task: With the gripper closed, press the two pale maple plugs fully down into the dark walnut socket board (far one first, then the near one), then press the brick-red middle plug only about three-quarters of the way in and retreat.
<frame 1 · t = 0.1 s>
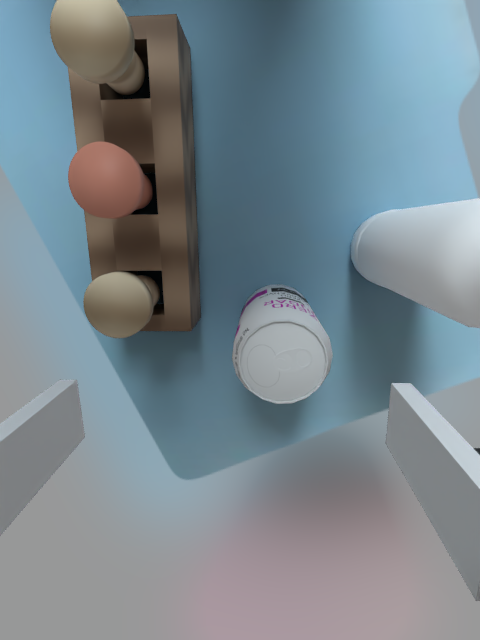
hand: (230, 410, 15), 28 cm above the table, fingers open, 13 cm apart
brick-red plug: (120, 186, 31), point 9 cm above the table, slide at 0.0 cm
socket board: (151, 195, 40), on the table
bottle: (384, 247, 40), on the table
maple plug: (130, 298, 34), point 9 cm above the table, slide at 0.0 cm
supplement can: (276, 317, 43), on the table
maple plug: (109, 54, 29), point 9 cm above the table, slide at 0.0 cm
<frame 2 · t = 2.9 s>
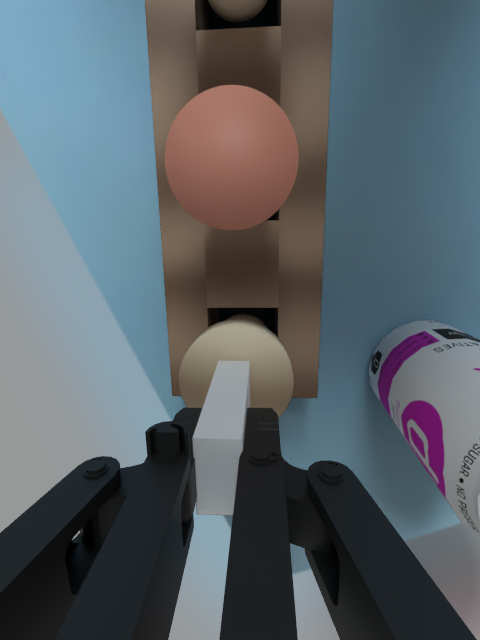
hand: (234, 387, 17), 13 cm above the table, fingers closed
brick-red plug: (236, 173, 18), point 9 cm above the table, slide at 0.0 cm
socket board: (245, 190, 27), on the table
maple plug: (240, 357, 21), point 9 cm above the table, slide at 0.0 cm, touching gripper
supplement can: (415, 364, 30), on the table
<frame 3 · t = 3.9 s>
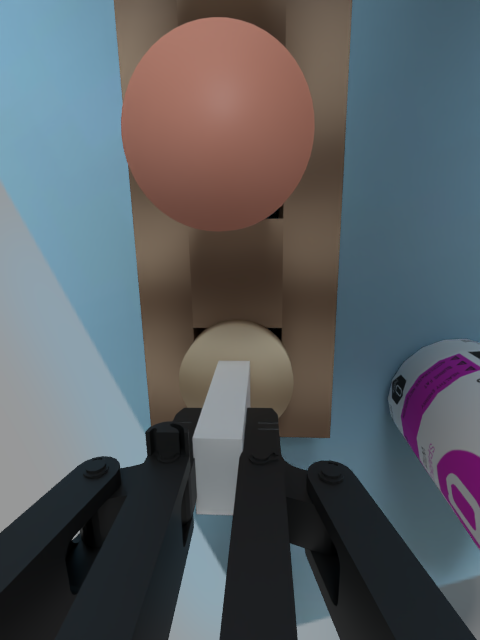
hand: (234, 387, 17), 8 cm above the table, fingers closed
brick-red plug: (228, 155, 14), point 9 cm above the table, slide at 0.0 cm
socket board: (241, 183, 22), on the table
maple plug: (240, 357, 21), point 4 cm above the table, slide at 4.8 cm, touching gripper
supplement can: (443, 390, 25), on the table
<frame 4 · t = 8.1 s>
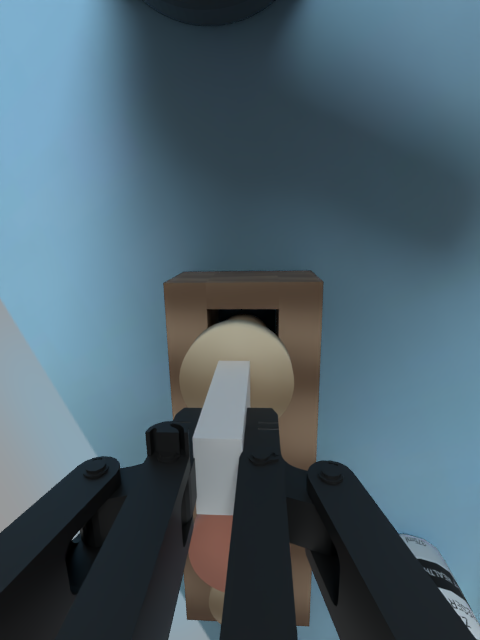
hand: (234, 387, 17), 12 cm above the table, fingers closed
brick-red plug: (242, 507, 23), point 9 cm above the table, slide at 0.0 cm
socket board: (248, 430, 32), on the table
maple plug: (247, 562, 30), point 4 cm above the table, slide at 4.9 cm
supplement can: (395, 561, 34), on the table
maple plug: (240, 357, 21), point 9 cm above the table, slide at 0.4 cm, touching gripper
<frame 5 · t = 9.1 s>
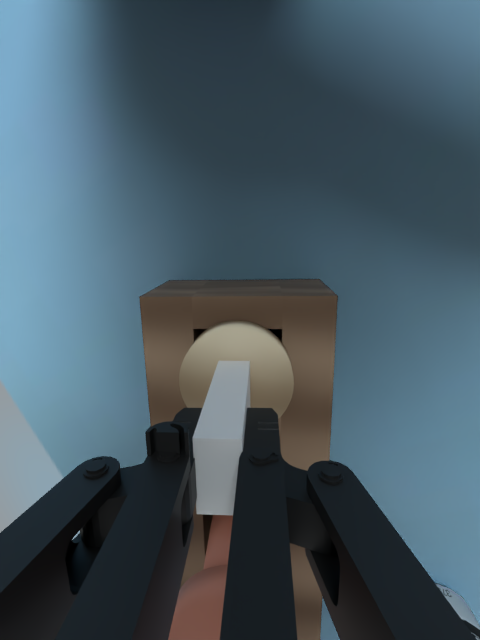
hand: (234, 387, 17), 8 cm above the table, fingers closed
brick-red plug: (237, 572, 19), point 9 cm above the table, slide at 0.0 cm
socket board: (245, 462, 27), on the table
supplement can: (414, 610, 30), on the table
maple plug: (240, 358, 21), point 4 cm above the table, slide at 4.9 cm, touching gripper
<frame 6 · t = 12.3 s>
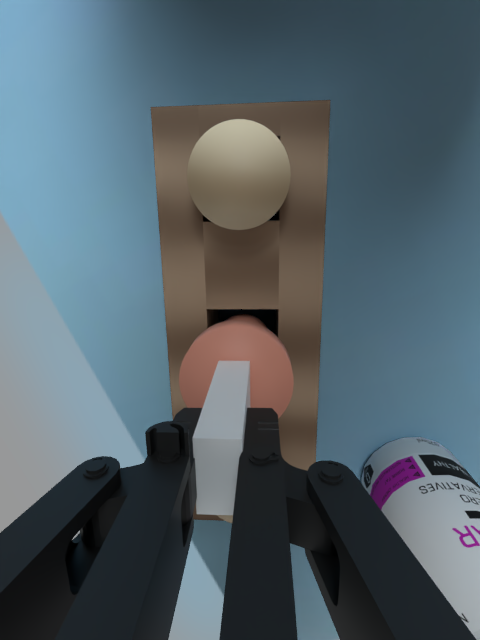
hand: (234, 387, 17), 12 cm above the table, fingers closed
brick-red plug: (240, 357, 21), point 9 cm above the table, slide at 0.4 cm, touching gripper
socket board: (246, 320, 29), on the table
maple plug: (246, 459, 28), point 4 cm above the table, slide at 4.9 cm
supplement can: (405, 471, 32), on the table
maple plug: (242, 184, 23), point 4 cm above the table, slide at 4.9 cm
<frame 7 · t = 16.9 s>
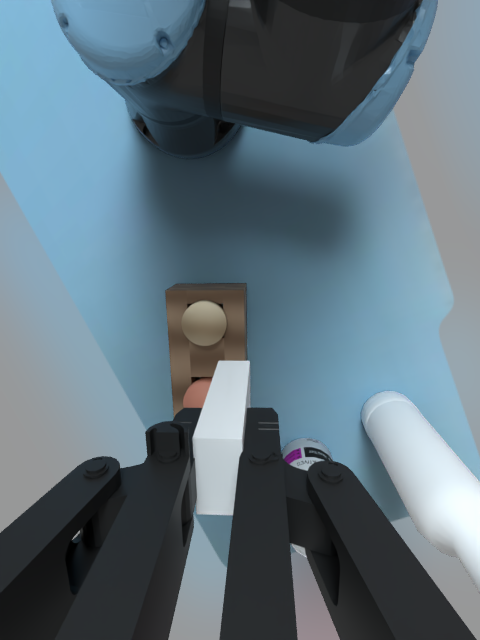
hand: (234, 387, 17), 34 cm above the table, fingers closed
brick-red plug: (208, 391, 49), point 6 cm above the table, slide at 3.3 cm
socket board: (214, 375, 54), on the table
bottle: (386, 413, 54), on the table
supplement can: (304, 457, 57), on the table
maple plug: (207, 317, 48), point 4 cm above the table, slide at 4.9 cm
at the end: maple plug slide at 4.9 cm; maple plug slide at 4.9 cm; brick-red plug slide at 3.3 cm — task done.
